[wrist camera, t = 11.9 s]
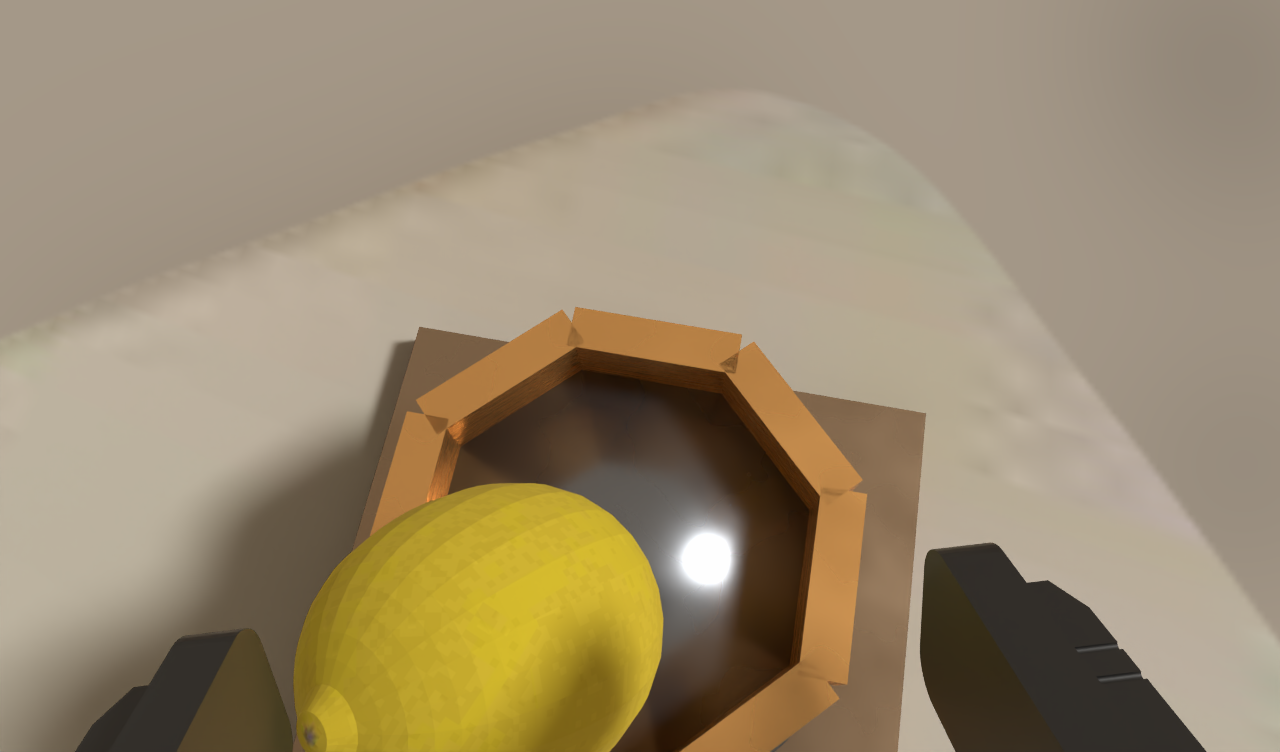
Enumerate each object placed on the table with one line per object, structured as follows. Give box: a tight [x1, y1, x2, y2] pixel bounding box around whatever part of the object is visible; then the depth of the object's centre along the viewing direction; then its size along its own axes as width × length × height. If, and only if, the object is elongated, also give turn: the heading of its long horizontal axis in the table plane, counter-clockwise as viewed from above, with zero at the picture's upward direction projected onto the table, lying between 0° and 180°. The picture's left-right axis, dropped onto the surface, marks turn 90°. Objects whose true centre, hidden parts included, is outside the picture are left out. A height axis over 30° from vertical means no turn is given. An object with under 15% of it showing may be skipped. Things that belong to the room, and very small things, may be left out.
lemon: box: [293, 483, 664, 752], centre depth 16 cm, size 6×6×8 cm
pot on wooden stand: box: [293, 307, 926, 752], centre depth 22 cm, size 16×13×8 cm
